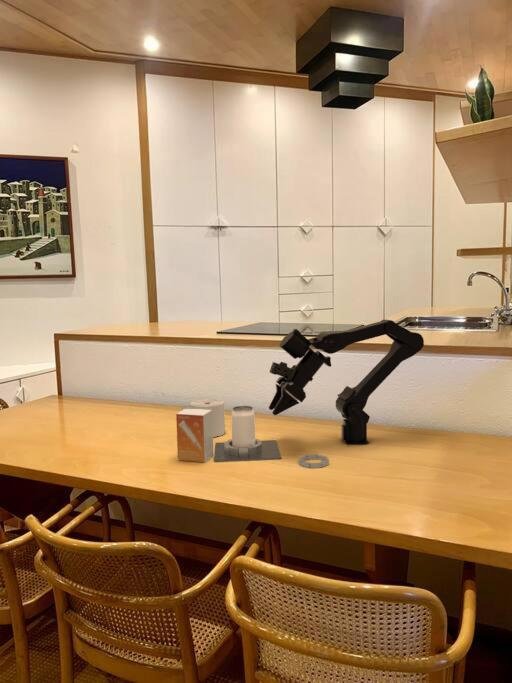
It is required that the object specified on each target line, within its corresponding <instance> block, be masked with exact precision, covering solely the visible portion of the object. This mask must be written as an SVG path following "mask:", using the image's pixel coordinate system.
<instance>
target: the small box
mask: <svg viewBox="0 0 512 683" xmlns="http://www.w3.org/2000/svg"><path fill="white" fill-rule="evenodd" d="M175 416H176V417H175V418H176V420H175V421H176V438H177V439H176V445H177V447H176V448H177V461H183V462H184V461H186V462H197V463H206V462H207V461H208V460H210V459H211V458H212V457H214V437H213V425H212V410H203V409H184V410H182V409H181V410H180V411H179V412H177V413H176V414H175Z"/></svg>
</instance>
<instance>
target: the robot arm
mask: <svg viewBox="0 0 512 683" xmlns="http://www.w3.org/2000/svg"><path fill="white" fill-rule="evenodd" d="M385 335H386V336H387V337H388V338H390V339H391V340H392V344H391V345H390V349H389V351H388V352H387V354H385V355H384V356H383V358H382V359H381V360H380V361H379V362H378V363H377V364H376V365H375V366H374V367H373V368H371V370H370V371H369V372H368V373H367V375H366V376H364V377H363V378H362V380H361V381H360V382H358V384H357V385H355V386H354V387H350V386H348V385H347V386H345V387H344V389H343V390H342V391H341V392H340V393H338V394H337V398H336V400H335V408H336V410H337V412H339V413H340V414H341V417H342V418H343V419H342V422H343V423H342V424H341V439H342V440H343V441H344V443H345V444H346V445H354V444H355V445H358V444H361V445H362V444H369V440H368V436H367V435H368V431H367V430H368V428H367V427H368V424H369V421H370V418H371V417H370V415H369V414H368V413H367V412H366V411H365V410H364V409H365V408H366V405H367V402H368V400H369V397H370V396H371V394H373V393H374V392H375V390H377V389H378V387H379V386H380V385H381V384H382V383H384V381H385V380H386V379H387V378H388V377H389V376H390V375H392V373H393V372H394V371H395V370H396V368H397V367H398V366H399V365H400V364H401V363H402V362H404V361H406V360H409V359H411V358H412V357H414V356H415V355H417V354H418V353H420V352H421V351H422V350H423V348H424V346H425V340H424V337H423V336H422V334H420V333H419V332H415V331H411V330H409V329H407V328H405V327H404V326H401V325H399V324H398V323H396V322H395V321H394V320H391V319H386V318H385V319H382V320H380V321H377V322H373V323H369V324H366V325H365V324H364V325H362V326H357V327H355V328H350V329H346V330H331V331H323V332H320V333H318V335H317V336H315V337H311V338H307V337H305V335H304V334H302V333H301V331H300V330H298V328H293V330H292V331H290V332H289V333H288V334H287V335H285V336H284V337H283V338H282V340H281V341H280V343H279V347H280V348H281V349H282V350H283V351H284V352H286V353H287V354H288V355H289V356H290V357H292V358H293V359H294V360H296V359H300V360H299V361H298V362H297V364H294V365H292V367H289V366H288V363H287V362H284V361H281V362H279V363H278V362H275V361H272V364H271V366H270V370H269V373H270V374H272V375H275V376H277V375H278V376H279V377H278V378H277V380H276V382H275V389H276V390H275V391H276V392H275V394H274V396H273V398H272V400H271V401H270V404H269V406H268V409H269V410H270V411H272V412H271V413H272V414H273V415H274V416H277V415H279V414H281V413H282V412H284V411H287V410H289V409H290V408H293V407H295V406H297V405H299V404H300V403H301V404H302V403H303V401H305V399H307V395H306V392H305V390H304V389H305V387H306V386H307V385H308V384H309V382H312V381H313V380H314V377H315V375H316V374H317V372H318V371H319V370H320V369H321V368H322V366H323V365H325V366H327V367H329V368H331V367H332V363H331V359H332V358H331V356H325V355H324V353H326V354H329V355H333V354H335V353H338V352H339V351H342V350H343V349H345V348H347V347H348V346H350V345H352V344H355V343H359V342H363V341H367V340H370V339H371V340H372V339H374V338H378V337H382V336H385ZM312 348H313V349H316V351H314V350H313V349H312Z"/></svg>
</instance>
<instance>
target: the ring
mask: <svg viewBox="0 0 512 683" xmlns="http://www.w3.org/2000/svg"><path fill="white" fill-rule="evenodd" d="M297 459H298V460H297V461H298V464H299V466H300V467H303V466H304V468H308V469H317V468H318V469H321V467H322V468H324V467H327V466H328V464H329V465H330V459H329V458H328V456H327V455H323V454H318V453H317V454H311V453H310V454H304V455H302V456H300V457H298V458H297ZM308 460H320V462H308Z"/></svg>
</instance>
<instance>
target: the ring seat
mask: <svg viewBox="0 0 512 683" xmlns="http://www.w3.org/2000/svg"><path fill="white" fill-rule="evenodd" d="M268 460H282V455H281V452H280V448H279V445H278V442H277V440H276V439H271V440H266V439H265V440H262V439H261V440H260V439H258V438H256V437H255V445H254V446H251V447H241V448H239V447H232V438H231V439H228V440H227V441H223V442H222V441H221V442H215V445H214V453H213V463H223V462H225V463H226V462H245V461H246V462H250V461H268Z"/></svg>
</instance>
